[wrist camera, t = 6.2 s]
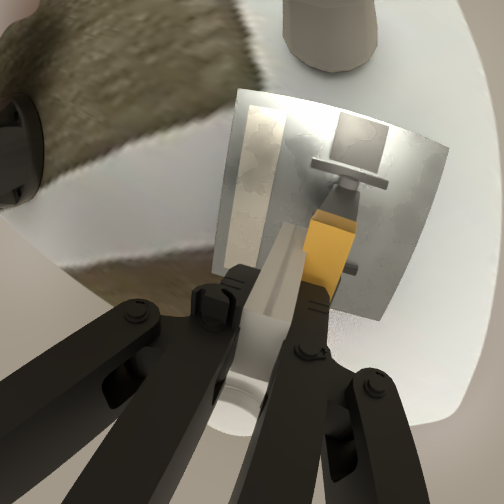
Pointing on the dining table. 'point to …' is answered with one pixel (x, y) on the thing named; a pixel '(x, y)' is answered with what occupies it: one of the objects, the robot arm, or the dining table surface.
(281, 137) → the panel
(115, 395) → the robot arm
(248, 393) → the pill bottle
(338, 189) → the paddle
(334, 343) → the dining table surface
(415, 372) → the dining table surface
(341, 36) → the salt shaker
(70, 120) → the dining table surface
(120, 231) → the dining table surface
